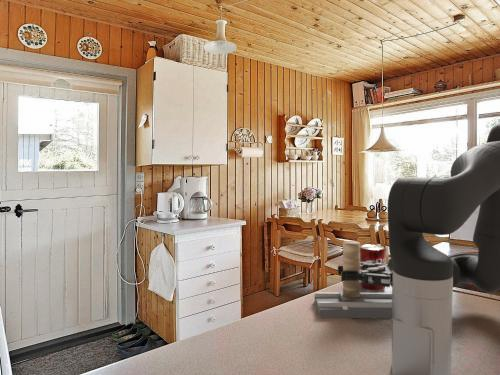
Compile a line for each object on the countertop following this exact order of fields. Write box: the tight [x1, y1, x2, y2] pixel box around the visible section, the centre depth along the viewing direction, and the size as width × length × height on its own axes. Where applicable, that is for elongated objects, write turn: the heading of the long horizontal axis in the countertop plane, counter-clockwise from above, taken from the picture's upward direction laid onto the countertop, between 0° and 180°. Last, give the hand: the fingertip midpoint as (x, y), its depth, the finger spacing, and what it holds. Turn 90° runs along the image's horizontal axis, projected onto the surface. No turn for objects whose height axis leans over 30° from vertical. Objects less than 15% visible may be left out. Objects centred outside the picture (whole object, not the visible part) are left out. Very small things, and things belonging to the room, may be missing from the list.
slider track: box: [314, 291, 392, 320], centre depth 89 cm, size 24×10×3 cm, turn 86°
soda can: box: [360, 244, 387, 293], centre depth 104 cm, size 7×7×12 cm
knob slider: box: [338, 240, 364, 302], centre depth 88 cm, size 5×5×14 cm
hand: (340, 272), depth 89 cm, fingers closed on knob slider, 4 cm apart
